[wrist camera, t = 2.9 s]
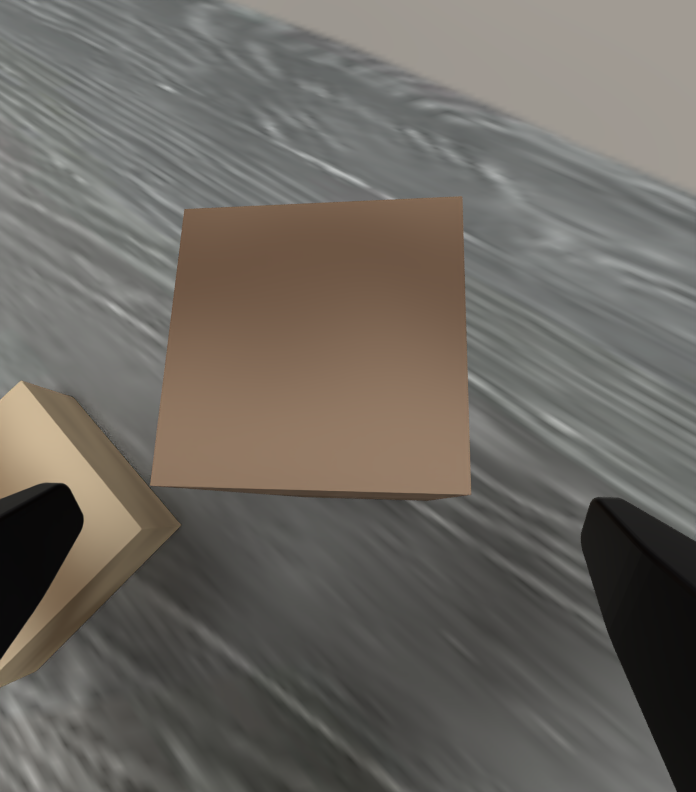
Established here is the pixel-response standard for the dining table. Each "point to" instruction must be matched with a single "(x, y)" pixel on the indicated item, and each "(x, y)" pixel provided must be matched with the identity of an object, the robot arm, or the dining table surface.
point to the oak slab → (100, 504)
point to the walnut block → (319, 352)
